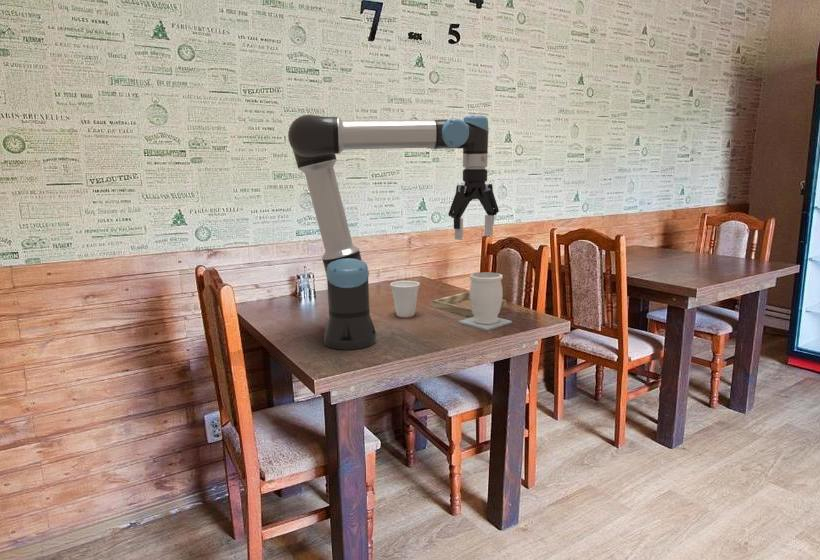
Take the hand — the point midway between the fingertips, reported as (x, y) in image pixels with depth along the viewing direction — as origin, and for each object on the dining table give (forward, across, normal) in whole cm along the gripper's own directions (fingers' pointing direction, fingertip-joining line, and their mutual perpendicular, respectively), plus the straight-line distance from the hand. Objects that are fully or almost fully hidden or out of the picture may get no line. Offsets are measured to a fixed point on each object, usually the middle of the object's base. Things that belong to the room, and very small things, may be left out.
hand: (473, 237), depth 173 cm
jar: (+27, +2, -4) cm, 27 cm away
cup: (+28, -11, +20) cm, 36 cm away
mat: (+27, +1, -4) cm, 27 cm away
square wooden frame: (+27, +12, +13) cm, 32 cm away
